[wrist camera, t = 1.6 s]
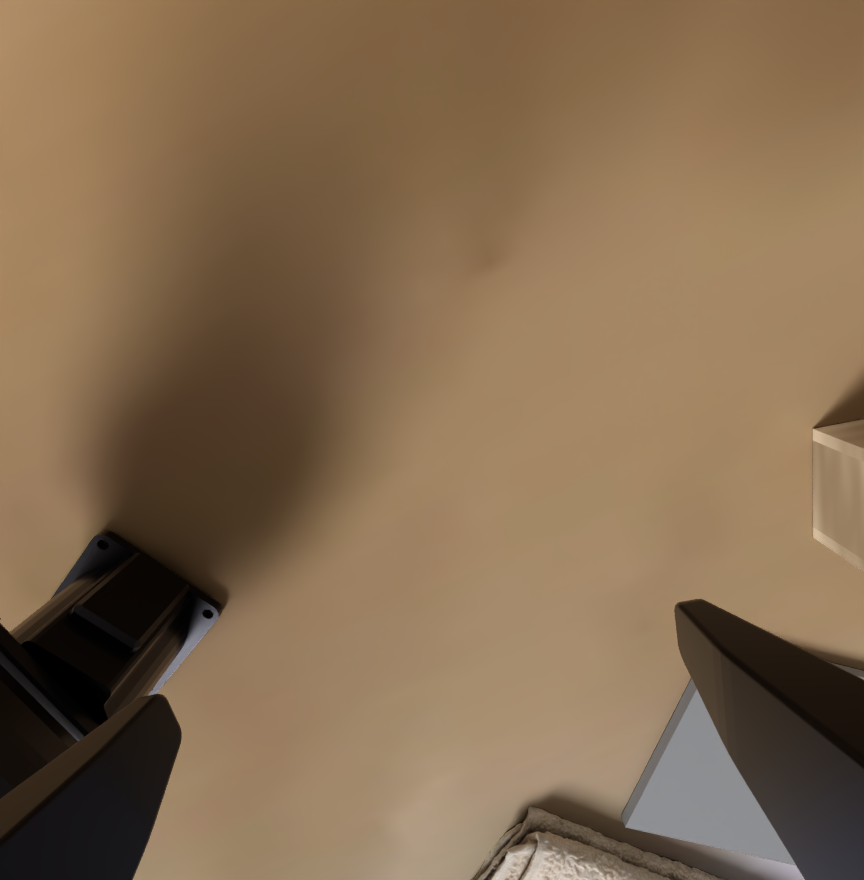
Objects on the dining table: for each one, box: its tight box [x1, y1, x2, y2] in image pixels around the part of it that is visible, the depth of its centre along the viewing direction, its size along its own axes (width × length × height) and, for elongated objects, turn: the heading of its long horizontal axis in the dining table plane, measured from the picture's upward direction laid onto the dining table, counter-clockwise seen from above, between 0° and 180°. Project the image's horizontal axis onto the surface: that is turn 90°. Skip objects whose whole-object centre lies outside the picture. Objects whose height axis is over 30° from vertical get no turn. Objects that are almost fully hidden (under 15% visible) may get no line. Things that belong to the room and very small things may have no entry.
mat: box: [621, 663, 864, 865], centre depth 25 cm, size 12×12×1 cm
